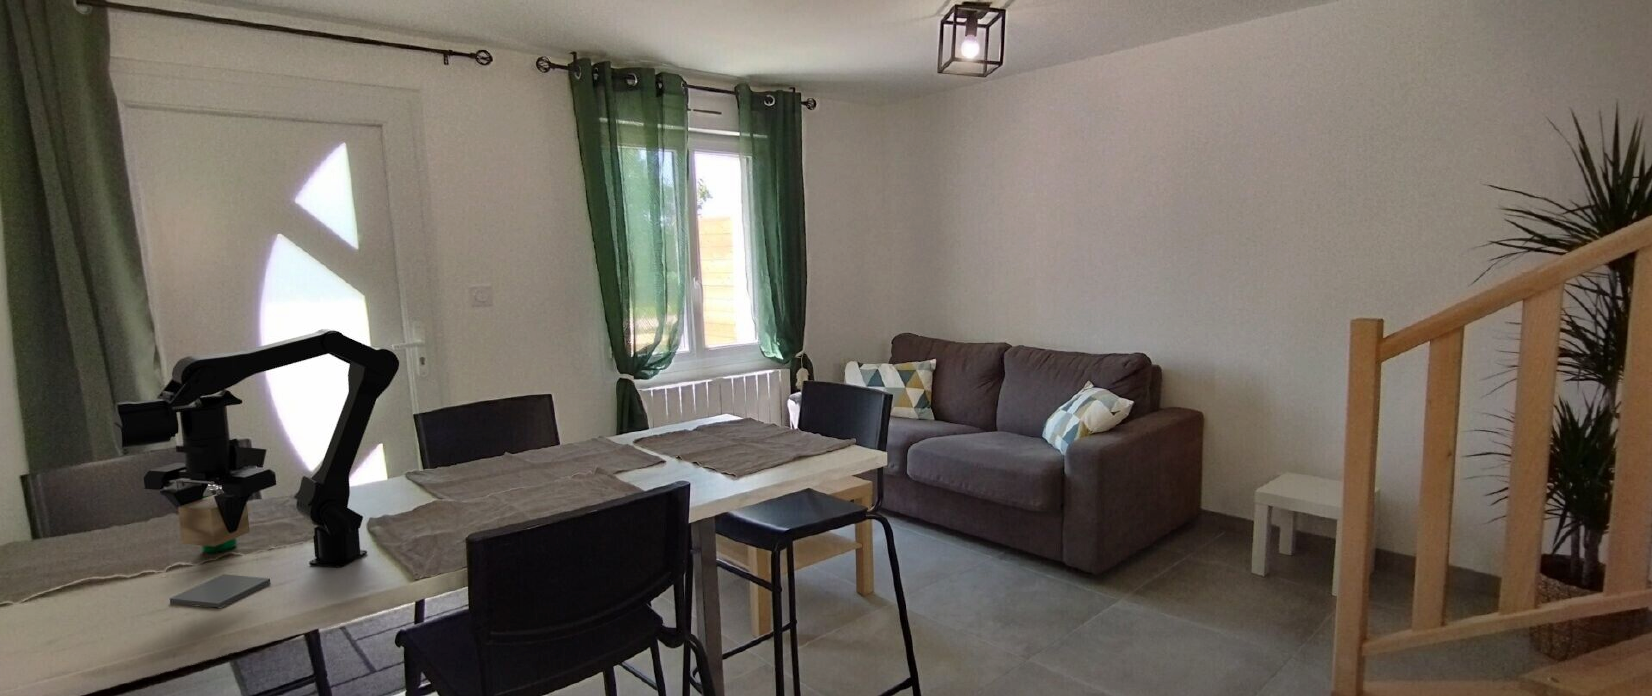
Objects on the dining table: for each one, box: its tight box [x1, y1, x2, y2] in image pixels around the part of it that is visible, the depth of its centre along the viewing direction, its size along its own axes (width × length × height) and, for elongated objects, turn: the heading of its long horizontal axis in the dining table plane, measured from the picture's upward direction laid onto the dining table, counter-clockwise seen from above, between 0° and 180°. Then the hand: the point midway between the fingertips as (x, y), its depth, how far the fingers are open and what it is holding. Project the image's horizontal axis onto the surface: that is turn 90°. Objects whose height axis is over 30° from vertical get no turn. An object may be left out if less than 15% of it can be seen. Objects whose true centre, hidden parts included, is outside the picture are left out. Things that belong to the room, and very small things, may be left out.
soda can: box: [201, 485, 238, 554], centre depth 139 cm, size 5×5×12 cm
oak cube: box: [177, 495, 251, 547], centre depth 120 cm, size 6×6×6 cm
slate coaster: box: [169, 573, 271, 609], centre depth 122 cm, size 9×9×1 cm
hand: (216, 530), depth 121 cm, fingers closed on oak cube, 6 cm apart
